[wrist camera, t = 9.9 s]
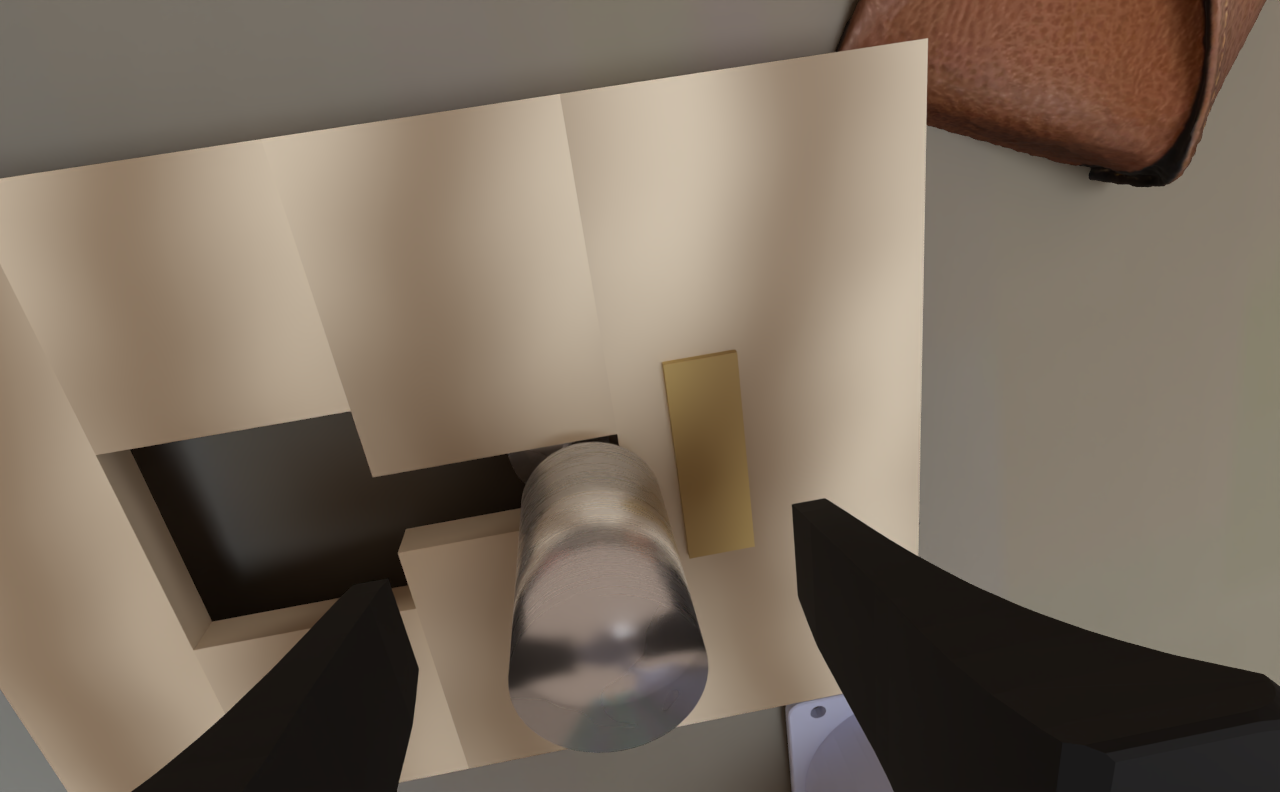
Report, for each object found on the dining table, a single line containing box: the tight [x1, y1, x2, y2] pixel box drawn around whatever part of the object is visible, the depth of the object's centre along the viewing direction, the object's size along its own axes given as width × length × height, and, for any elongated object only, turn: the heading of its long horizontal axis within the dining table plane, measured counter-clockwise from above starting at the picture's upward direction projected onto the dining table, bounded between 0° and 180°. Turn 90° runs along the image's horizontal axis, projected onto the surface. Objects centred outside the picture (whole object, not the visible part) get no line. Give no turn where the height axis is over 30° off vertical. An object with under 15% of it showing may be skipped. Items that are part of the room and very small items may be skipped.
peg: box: [508, 434, 708, 753], centre depth 15 cm, size 4×4×9 cm
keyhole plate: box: [0, 38, 928, 792], centre depth 17 cm, size 22×16×3 cm
